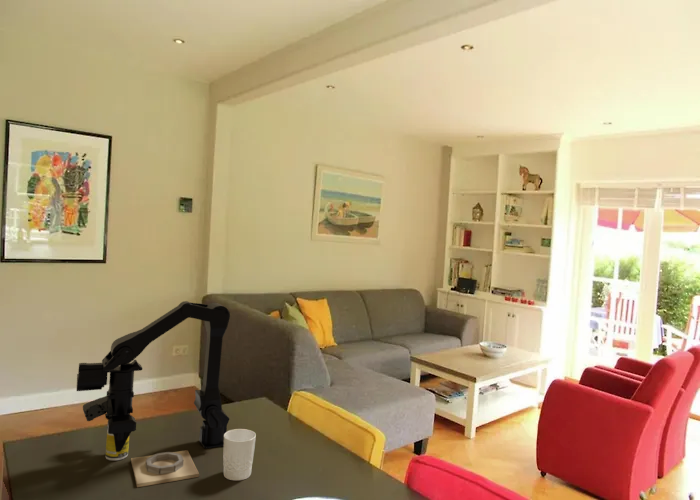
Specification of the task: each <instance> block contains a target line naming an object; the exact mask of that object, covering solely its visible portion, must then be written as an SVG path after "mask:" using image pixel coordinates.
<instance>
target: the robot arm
mask: <svg viewBox="0 0 700 500" xmlns="http://www.w3.org/2000/svg"><path fill="white" fill-rule="evenodd" d="M189 318H191V319H195V320H199V321H204V327H205V330H206V344H205V345H206V346H205V357H204V369H203V379H202V385H201V387H200V389H195V391H194V394H195V398H194V401H193V405H194V406H195V408H196V410H197V412H198V413H199V414H200V416H201V417H202V418H203V419H204V420H202V425H201V426H199V427H200V428H199V438H198V439H199V442H200V444H201V445H202V446H203V448H204V449H212V448H219V447H223V446H224V434H225V433H226V432H227V431H228V430H227V428H228V424H229V421H230V417H229V416H228V415H227V414H226V412H225V411H224V410H223V407H222V405H223V404H222V398H221V392H220V387H219V385H220V384H219V383H220V375H221V372H220V371H221V361H222V352H223V351H222V350H223V339H224V336H225V333H226V331H227V329H228V325H229V323H230V318H231V312H230V311H229V309H228V308H227V307H226V306H224V305H222V304H221V303H218V302H211V303H209V304H205V303H199V302H190V301H187V300H185V301H182V302H180V303H179V304H178V305H177V306H175V307H174V308H172V309H171V310H169V311H168V312H166V313H164V314H163V315H161V316H160V317H158V318H157V319H155V320H154V321H152V322H151V323H149V324H148V325H146V326H145V327H143V328H140V329H139V330H136V331H133V332H130V333H128V334H125V335H123V336H121V337H119V338H116V339H115V340H114V341H113V342H112V343H111V346H110V350H109V351H108V353H107V354H106V356H104V358H103V359H102V360H101V362H91V363H89V362H88V363H87V362H80V363H78V369H77V370H78V371H77V372H78V373H76V392H87V391H98V390H99V391H100V390H102V389H103V388H105V386H107V384H108V382H109V384H108V385H109V386H108V389H107V391H106V395H105V396H103V397H99V398H97V399H94V400H91V401H88V402H87V403H84V404H83V405H82V412H83V414H84V417H85V419H86V422H91V421H93V420H95V419H96V418H98V417H99V418H100V417H102V416H103V415H105V416H104V417H105V419H106V420H107V427H106V428H107V430H108V434H113V435H114V441H115V448H116V452H120V451H121V450H122V448H123V446H124V444H125V442H126V440H127V439H128V437H129V438H130V436H129V435H131V433H132V432H135V431H137V420H136V418H135V416H133V415H132V414H133V411H134V409H133V398H134V396H135V392H134V383H135V381H134V380H135V372H136V371H137V372H138V371H139V372H140V371H142V370H143V366H142V364H141V363H139V362H138V361H137V359H136V358H137V357H138V356H140V355H141V354H142V353H143V351H144V350H145V349H146V348H147V347H148V346H149V345H150V344H151V343H152V342H154V341H155V340H156V339H158V338H160V337H162V336H163V335H164V334H166V333H168V331H170V330H172V329H173V328H175V327H176V326H178V325H179V324H180V323H183V322H184V321H186V320H187V319H189ZM108 373H109V380H108Z"/></svg>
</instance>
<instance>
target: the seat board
mask: <svg viewBox="0 0 700 500" xmlns="http://www.w3.org/2000/svg"><path fill="white" fill-rule="evenodd" d="M130 462H131V468H132V470H133V475H134V480H135V484H136V487H137V488H140V487H147V486H154V485H160V484H165V483H170V482H176V481H181V480H188V479H193V478H199V477H200V473H199V470H198V469H197V467H196V465H195V463H194V461H193V459H192V456H191V454H190V453H189V450H188V449H187V450H180V451H166V452H165V451H164V452H157V453H154V454H151V455H150V454H149V455H145V456H137V457H131V458H130Z"/></svg>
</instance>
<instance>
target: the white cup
mask: <svg viewBox="0 0 700 500" xmlns="http://www.w3.org/2000/svg"><path fill="white" fill-rule="evenodd" d="M256 436H257V434H256V432H255V431H253V430H250V429H246V428H235V429H234V428H233V429H229V430H227V431H226V433H225V434H224V446H222V447H223V448H222V449H223V452H222V455H223V457H222V459H223V461H222V463H223V477H224V478H226V479H227V480H230V481H243V480H246V479H248V478H249V477H251V475H252V470H253V469H252V467H253V463H254V455H255V447H256V438H257V437H256Z"/></svg>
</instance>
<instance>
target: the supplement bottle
mask: <svg viewBox="0 0 700 500" xmlns="http://www.w3.org/2000/svg"><path fill="white" fill-rule="evenodd" d="M130 435H131V434H130ZM130 435H129V437H128V439H127V440H126V442H125V444H124V446H123V448H122V450H121V451H120V452H116V448H115V441H114V435H113V434H108V429H107V431H106V442H105V453H104V454H105V459H106V460H108V461H113V462H114V461H122V460H123V459H126V458H127V457H128V455H129V446H130Z"/></svg>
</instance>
